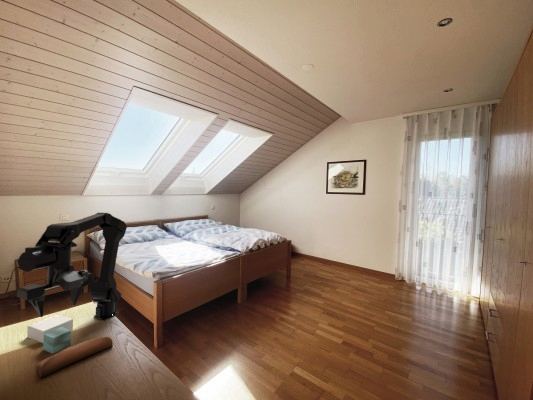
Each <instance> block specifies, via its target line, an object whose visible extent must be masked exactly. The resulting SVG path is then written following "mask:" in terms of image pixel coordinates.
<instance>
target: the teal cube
mask: <svg viewBox="0 0 533 400" xmlns="http://www.w3.org/2000/svg"><path fill="white" fill-rule="evenodd" d="M71 340H72V331H71V330H69V329H66V328H63V327H60V328H58V329H55V330H53V331H51V332H48V333H46V334H44V340H43V343H42V344H43V345H42V350H43V351H45V352H48V353H51V354H52V355H54V354H56V353H58V352H60V351H62V350H64V349H66V348H68V347H71V346H72V343H71Z"/></svg>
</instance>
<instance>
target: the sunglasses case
mask: <svg viewBox="0 0 533 400" xmlns="http://www.w3.org/2000/svg"><path fill="white" fill-rule="evenodd" d="M113 345H114V344H113V339H112V338H111V337H110V336H102V337H95V338H91V339H88V340H85V341H83V342H79V343H77V344H73V345H70V346H68V347H66V348H64V349H61V350H59V351H58V352H56V353H54V354H52V355H51V356H49V357H47V358H45V359H43V360H41V361H39V362H37V364H35V366H34V368H35V369H36V371H37V373H38V375H39V377H40V379H42V378H44V377H47V376H49V375H51V374H53V373H54V372H57V371H59V370H60V369H61V370H62V368H65V367H67V366H68V365H70V364H73V363H75V362H77V361H80V360H82V359H85V358H87V357H89V356H92V355H94V354H97V353H99V352H101V351H104V350H106V349H108V348H113Z"/></svg>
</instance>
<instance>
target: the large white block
mask: <svg viewBox="0 0 533 400" xmlns="http://www.w3.org/2000/svg"><path fill="white" fill-rule="evenodd" d="M60 327H63V328H66V329H69V330H71V332H72V331H73V328H74V319H73V318H70V317H67V316H64V315H61V314H57V313H56V314H55V315H52V316H50V317H47V318H45V319H41V320H39V321H36V322H33V323H30V324H28V325H27V338H29V339H31V340H33V341H34V340H35V341H37V342H39V343H42V344H43V340H44V334H46V333H48V332H51V331H53V330H55V329H58V328H60Z"/></svg>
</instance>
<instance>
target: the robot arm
mask: <svg viewBox="0 0 533 400" xmlns="http://www.w3.org/2000/svg"><path fill="white" fill-rule="evenodd" d="M97 227H98V228H100V229H101V230H102V234H101V235H102V237H103V238H104V241H105V243H104V248H103V254H102V260H101V265H100V270H99V276H98V277H97V279H96V280H95V281H94V274H93V273H91V272H89V271H88V270H87V269H82V270H78V271H75V267H74V264H72V248H76V247H77V246H78V244H77V243H75V242H74V240H76V239H77V238H78V237H80V235H81V234H82V233H83V232H86V231H88V230H91V229H93V228H97ZM127 228H128V226H127V224H126V222H125V221H123V220H122V219H120V218H118V217H115V216H113V214H111V213H109V212H96V213H95V214H91V215H90V216H86V217H83V218H80V219H76V220H74V221H70V222H59V223H58V222H57V223H52V224H49V225H47V227H46V229H45V230H44V232H43V233H42V235H41V236H40V238H39V239H38V241H37V242H36V243H35V246H28V247H25V248H24V250H25V251H24V252H22V253H21V254H20V256H19V258H18V259H17V265H18V268H19V269H20V270H21V271H23V272H26V273H28V272H29V273H30V272H32V271H36V270H40V269H43V268H45V271H47V278H44V282H45V283H46V284H42V285H40V284H37V283H32V284H29V285H24V286H21V287H20V288H19V289H18V290H17V292H16V298H19V299H21V300H22V299H23V300H25V301H28V302H29V303H30V304H31V305H32V306H33V308H34V310H35V311H36V314H37V315H38V317H40V318H43V317H44V300H45V299H46V296H45V295H44V294H45V292H46V291H50V290H53V289H57V288H61V289H62V290H63V291H70V300H71V306H76V304H77V302H78V299H79V298H80V296H81V293H82V291H83V289H84V288H85V287H87V286H89V285H90V283H91V288H90V291H89V293H90V297H91V299H92V302H93V303H96V307H95V314H94V315H93V318H95V319H99V320H101V321H102V320H103V321H106V320H108V319H110V318H112V317H114V316H116V315H118V314H119V311H117V303H118V302H119V300H121V297H122V293H121V292H120V291H118V289H117V281H116V280H115V277H114V275H115V269H116V262H117V257H118V251H119V246H120V242H121V241H122V240H123V238H124V237H125V235H126V232H127ZM112 314H113V315H114V316H112Z"/></svg>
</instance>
